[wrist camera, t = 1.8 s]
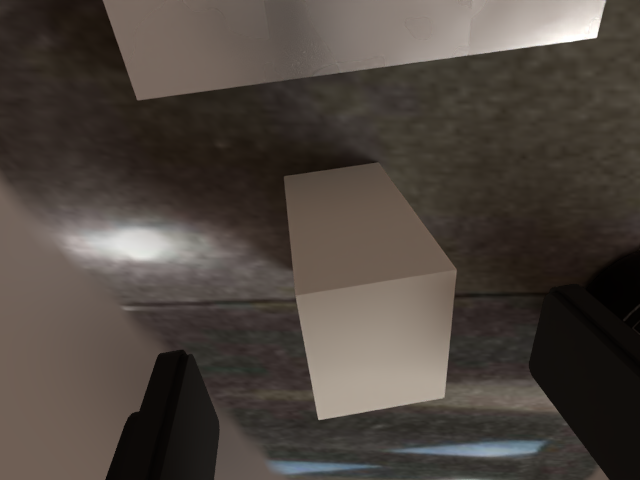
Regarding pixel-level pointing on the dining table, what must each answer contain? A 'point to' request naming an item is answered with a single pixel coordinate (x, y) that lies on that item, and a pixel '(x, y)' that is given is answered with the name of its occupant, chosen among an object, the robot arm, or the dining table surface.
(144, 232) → the dining table surface
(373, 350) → the plug
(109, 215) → the dining table surface
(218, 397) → the dining table surface
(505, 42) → the socket board
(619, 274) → the supplement bottle
